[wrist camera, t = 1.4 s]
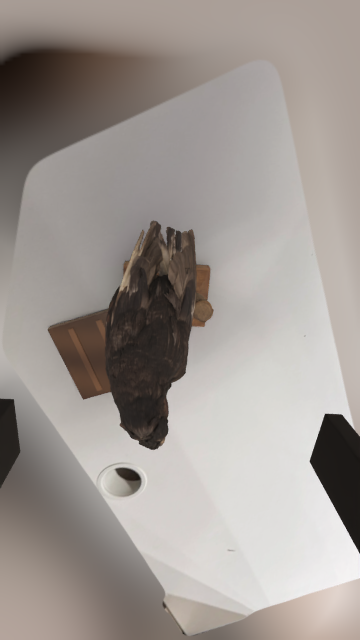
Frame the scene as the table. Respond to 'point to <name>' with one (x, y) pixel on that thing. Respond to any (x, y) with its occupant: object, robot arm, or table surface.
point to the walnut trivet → (84, 352)
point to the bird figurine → (153, 329)
